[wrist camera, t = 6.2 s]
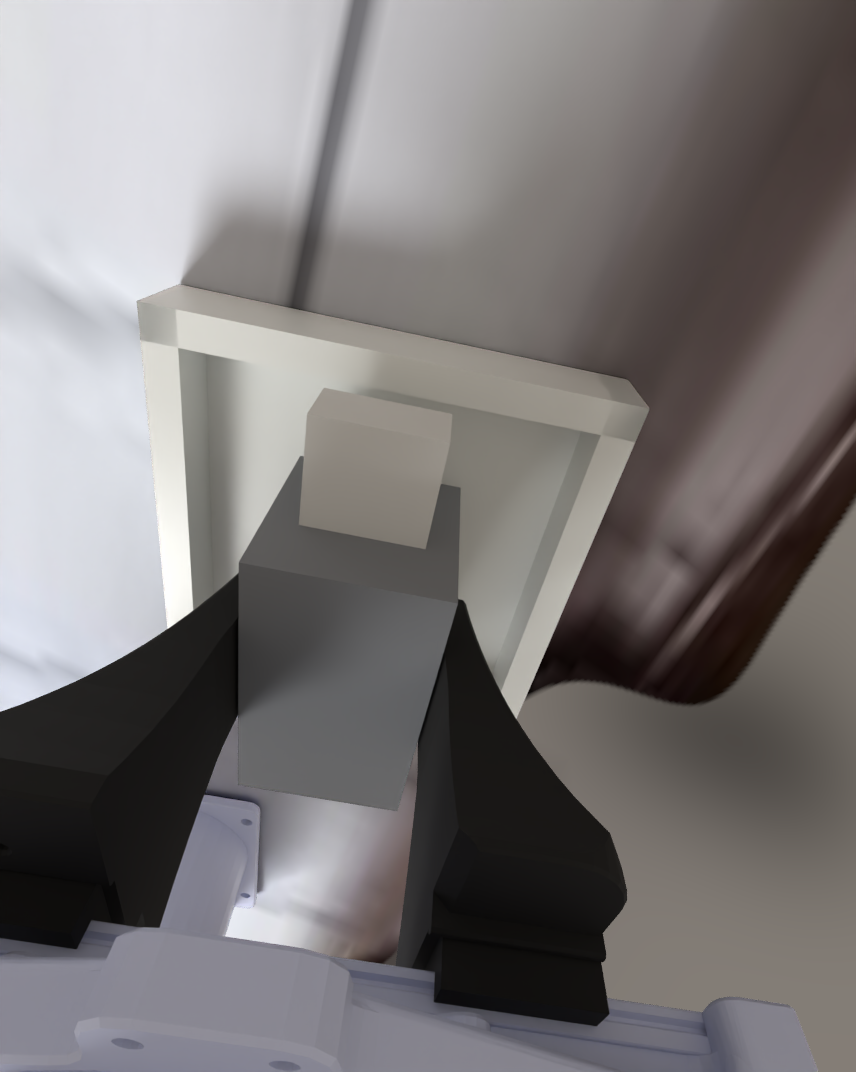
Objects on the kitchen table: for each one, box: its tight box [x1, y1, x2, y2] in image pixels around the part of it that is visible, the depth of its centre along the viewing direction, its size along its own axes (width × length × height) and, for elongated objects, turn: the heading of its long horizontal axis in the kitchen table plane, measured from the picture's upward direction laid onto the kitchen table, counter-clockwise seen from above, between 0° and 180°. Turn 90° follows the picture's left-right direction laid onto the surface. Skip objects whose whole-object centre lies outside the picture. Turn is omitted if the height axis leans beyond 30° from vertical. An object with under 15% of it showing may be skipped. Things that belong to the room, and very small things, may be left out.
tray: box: [137, 284, 650, 719], centre depth 16 cm, size 12×11×2 cm
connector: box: [238, 388, 461, 811], centre depth 13 cm, size 9×4×4 cm, turn 169°
